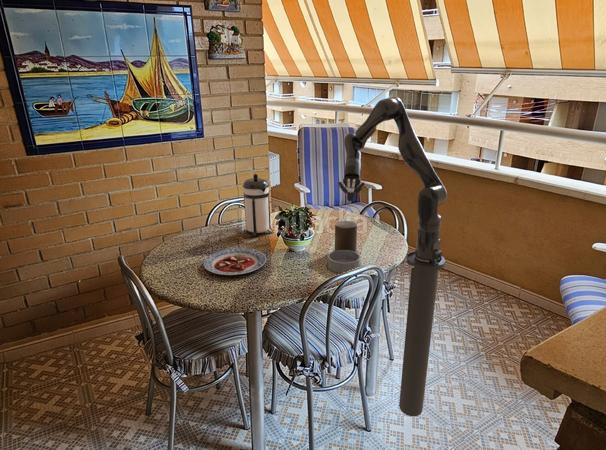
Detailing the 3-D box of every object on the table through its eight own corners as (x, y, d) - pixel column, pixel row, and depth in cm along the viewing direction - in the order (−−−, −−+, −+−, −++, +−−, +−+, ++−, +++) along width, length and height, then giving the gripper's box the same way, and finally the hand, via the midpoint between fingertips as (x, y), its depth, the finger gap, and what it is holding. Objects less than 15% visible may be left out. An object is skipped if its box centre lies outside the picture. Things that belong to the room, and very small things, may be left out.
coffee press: (277, 227, 213) (275, 170, 203) (267, 238, 199) (265, 178, 188) (246, 225, 217) (242, 169, 207) (234, 235, 202) (230, 176, 192)
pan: (366, 266, 168) (367, 256, 167) (345, 276, 160) (345, 266, 159) (342, 256, 178) (343, 247, 176) (321, 266, 169) (321, 256, 168)
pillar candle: (350, 259, 175) (351, 226, 170) (330, 254, 180) (330, 222, 175) (360, 251, 183) (361, 219, 178) (341, 246, 188) (341, 216, 183)
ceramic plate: (248, 283, 155) (248, 276, 154) (191, 273, 164) (190, 267, 163) (276, 257, 178) (276, 251, 177) (224, 249, 186) (224, 243, 185)
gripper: (338, 164, 195) (335, 196, 188) (366, 165, 193) (364, 197, 186) (339, 173, 202) (336, 203, 195) (366, 173, 200) (364, 205, 192)
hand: (350, 200), depth 190 cm, fingers closed
